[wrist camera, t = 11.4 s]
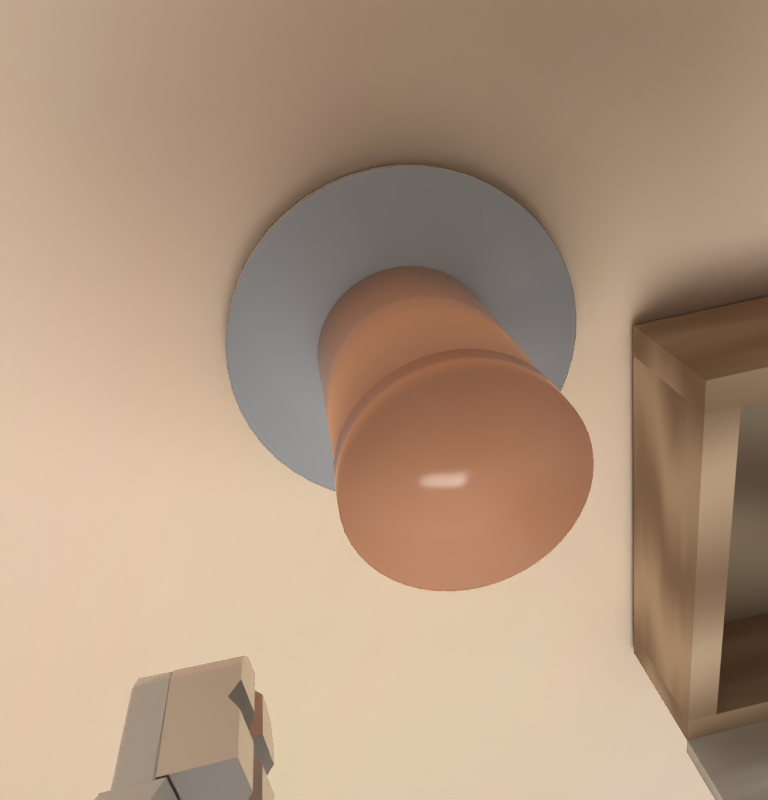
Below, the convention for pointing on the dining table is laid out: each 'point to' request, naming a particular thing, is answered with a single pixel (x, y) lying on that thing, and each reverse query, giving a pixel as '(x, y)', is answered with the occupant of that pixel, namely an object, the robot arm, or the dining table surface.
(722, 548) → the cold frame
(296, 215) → the grey flat disc
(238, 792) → the robot arm
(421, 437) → the orange cylinder
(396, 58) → the dining table surface
